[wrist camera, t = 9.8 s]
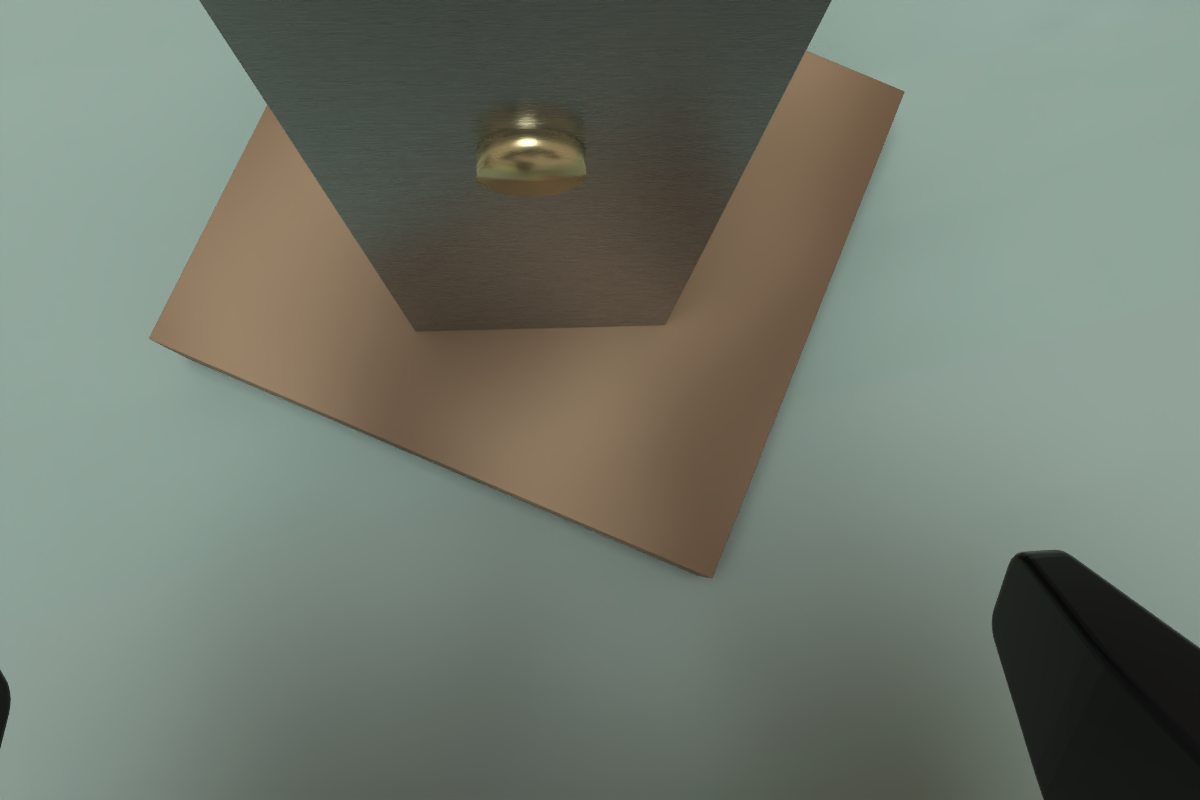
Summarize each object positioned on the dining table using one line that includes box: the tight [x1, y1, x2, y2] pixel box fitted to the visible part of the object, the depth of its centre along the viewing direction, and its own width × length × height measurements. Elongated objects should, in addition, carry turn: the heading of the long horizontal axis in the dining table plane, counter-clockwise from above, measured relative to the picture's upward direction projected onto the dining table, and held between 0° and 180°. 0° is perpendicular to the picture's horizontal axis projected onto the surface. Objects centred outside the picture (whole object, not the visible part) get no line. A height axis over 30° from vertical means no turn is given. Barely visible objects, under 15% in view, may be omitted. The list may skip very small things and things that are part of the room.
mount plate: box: [149, 51, 904, 578], centre depth 21 cm, size 12×11×2 cm
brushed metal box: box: [200, 0, 831, 332], centre depth 14 cm, size 5×5×12 cm
